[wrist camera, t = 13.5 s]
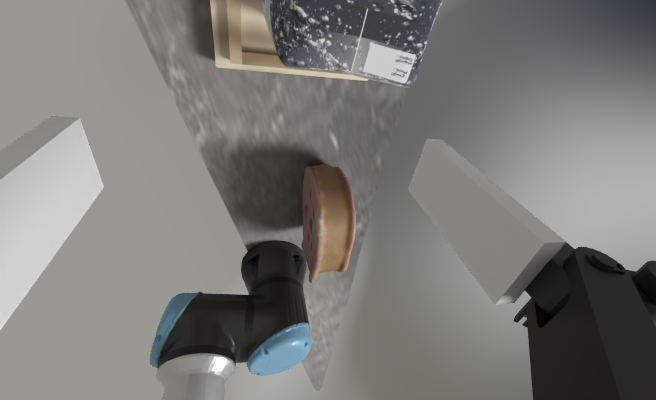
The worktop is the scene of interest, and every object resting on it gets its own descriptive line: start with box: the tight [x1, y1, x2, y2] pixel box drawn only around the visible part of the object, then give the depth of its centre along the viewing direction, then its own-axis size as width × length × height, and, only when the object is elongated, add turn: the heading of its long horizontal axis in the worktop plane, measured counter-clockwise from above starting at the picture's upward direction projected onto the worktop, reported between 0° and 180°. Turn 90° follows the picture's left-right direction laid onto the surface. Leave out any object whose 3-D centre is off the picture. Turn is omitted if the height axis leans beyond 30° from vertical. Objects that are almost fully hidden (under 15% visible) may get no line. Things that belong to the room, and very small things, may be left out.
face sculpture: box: [302, 164, 356, 283], centre depth 53 cm, size 20×7×17 cm, turn 175°
